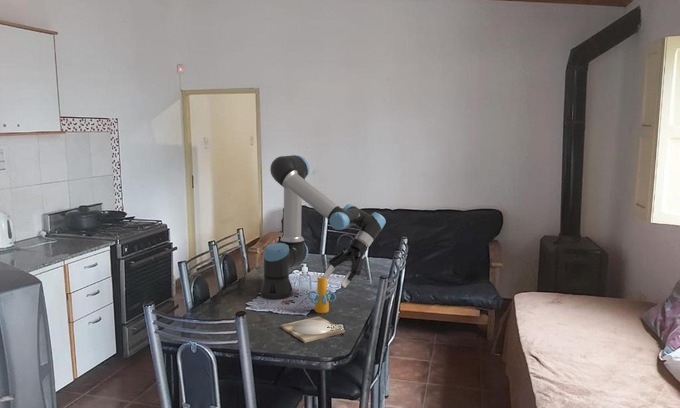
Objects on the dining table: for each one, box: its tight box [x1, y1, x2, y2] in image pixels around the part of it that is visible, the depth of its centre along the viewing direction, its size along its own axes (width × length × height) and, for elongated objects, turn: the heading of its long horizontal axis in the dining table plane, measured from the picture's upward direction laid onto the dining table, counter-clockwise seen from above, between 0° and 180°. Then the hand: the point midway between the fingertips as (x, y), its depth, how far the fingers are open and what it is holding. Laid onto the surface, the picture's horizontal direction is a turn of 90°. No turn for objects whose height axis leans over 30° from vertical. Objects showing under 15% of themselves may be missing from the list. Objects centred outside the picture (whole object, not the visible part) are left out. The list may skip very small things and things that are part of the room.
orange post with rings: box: [307, 275, 337, 314], centre depth 227 cm, size 12×10×15 cm
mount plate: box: [280, 315, 346, 344], centre depth 206 cm, size 18×18×1 cm
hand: (333, 282), depth 228 cm, fingers open, 13 cm apart
